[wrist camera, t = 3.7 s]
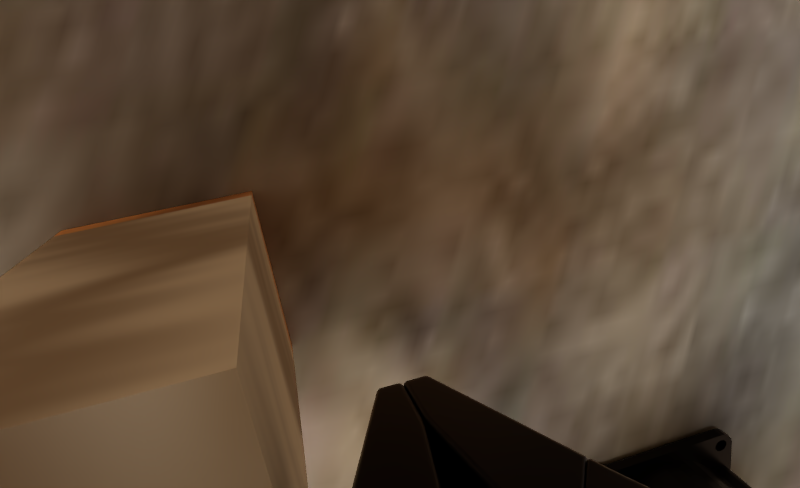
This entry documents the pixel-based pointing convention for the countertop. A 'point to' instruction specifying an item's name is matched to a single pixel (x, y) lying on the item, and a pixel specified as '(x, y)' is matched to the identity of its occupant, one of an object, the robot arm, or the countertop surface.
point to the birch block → (149, 357)
